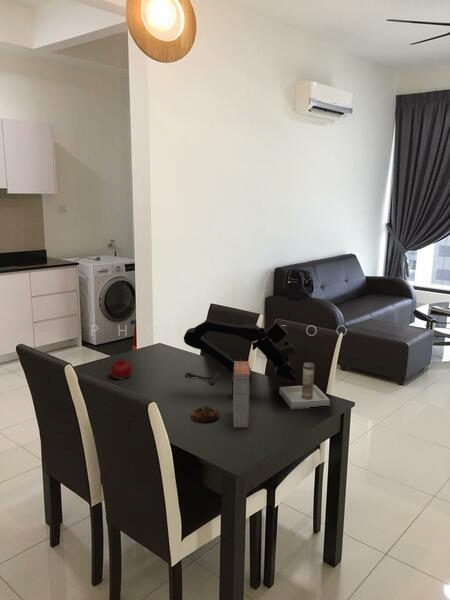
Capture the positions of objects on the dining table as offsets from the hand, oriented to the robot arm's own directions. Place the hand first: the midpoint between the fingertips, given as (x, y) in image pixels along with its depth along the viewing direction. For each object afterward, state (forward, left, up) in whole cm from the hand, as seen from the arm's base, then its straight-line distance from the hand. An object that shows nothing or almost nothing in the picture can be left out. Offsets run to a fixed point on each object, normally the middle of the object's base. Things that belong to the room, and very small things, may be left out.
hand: (295, 376), depth 207 cm
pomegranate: (-70, +37, -10) cm, 80 cm away
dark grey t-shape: (-34, +30, -11) cm, 47 cm away
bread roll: (-39, -11, -10) cm, 42 cm away
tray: (+4, -1, -10) cm, 11 cm away
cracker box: (-26, -15, -10) cm, 32 cm away
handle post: (+5, -1, -9) cm, 10 cm away
